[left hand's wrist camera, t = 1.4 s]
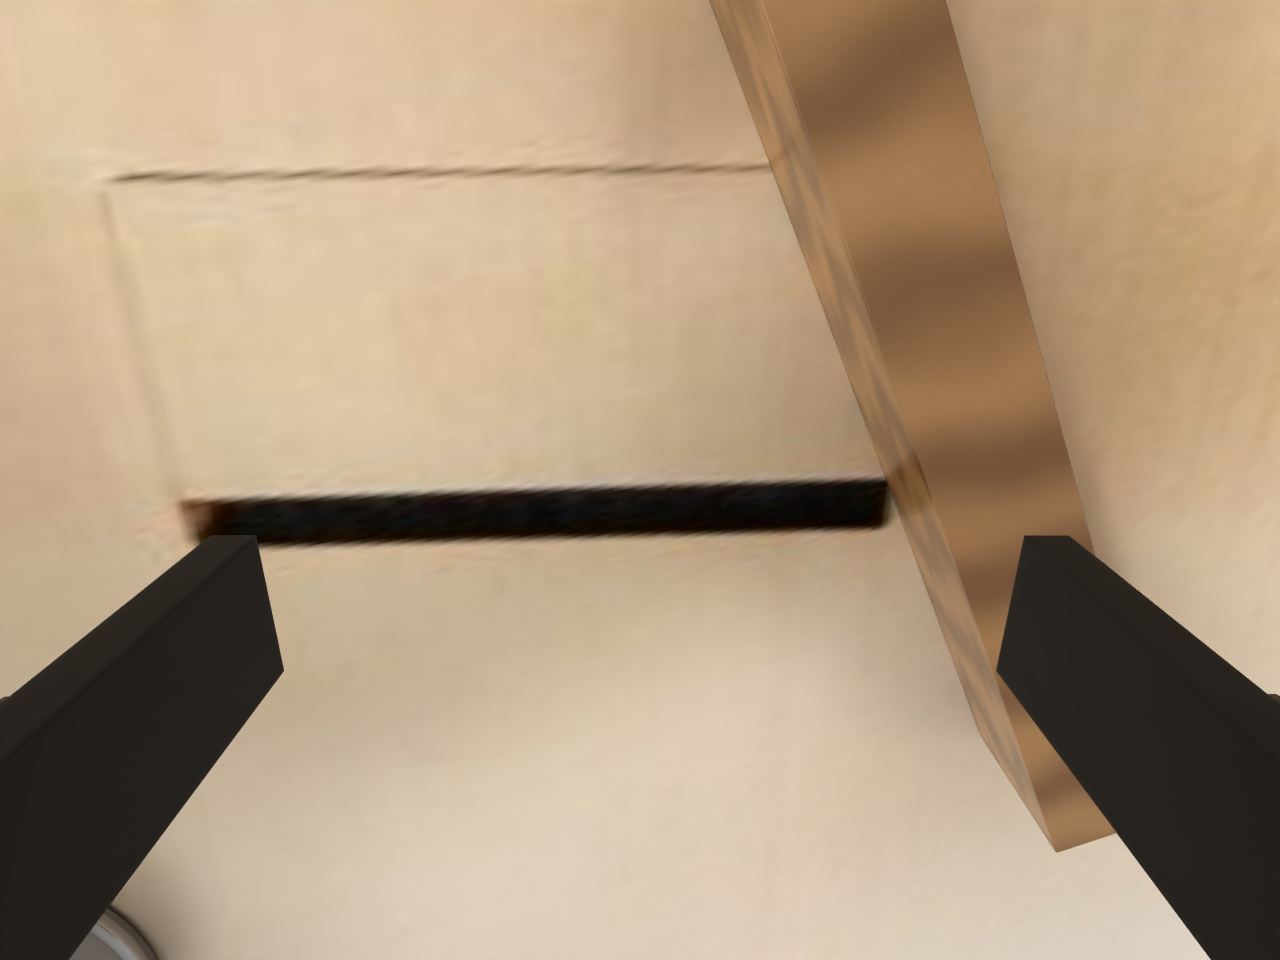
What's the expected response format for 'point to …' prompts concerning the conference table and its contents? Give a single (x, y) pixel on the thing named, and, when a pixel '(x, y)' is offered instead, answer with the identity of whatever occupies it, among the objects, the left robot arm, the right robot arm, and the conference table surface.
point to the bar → (924, 324)
